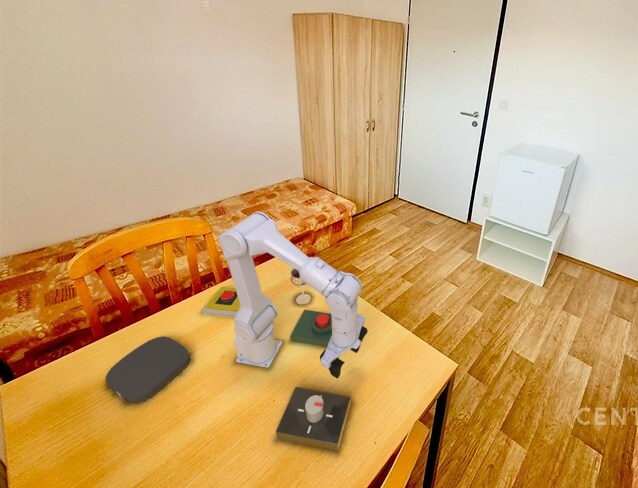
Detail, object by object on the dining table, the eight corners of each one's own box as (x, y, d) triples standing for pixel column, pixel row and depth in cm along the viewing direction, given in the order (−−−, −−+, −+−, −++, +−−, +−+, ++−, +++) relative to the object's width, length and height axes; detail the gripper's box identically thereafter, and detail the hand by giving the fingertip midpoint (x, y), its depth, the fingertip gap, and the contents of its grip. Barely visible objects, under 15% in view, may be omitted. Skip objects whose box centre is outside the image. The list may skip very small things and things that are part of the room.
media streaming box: (197, 359, 86) (194, 352, 84) (136, 411, 73) (133, 403, 72) (162, 337, 91) (160, 330, 89) (101, 382, 79) (97, 374, 77)
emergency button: (216, 282, 105) (260, 287, 105) (218, 292, 107) (262, 297, 107) (198, 303, 97) (246, 308, 97) (201, 314, 99) (248, 319, 98)
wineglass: (318, 297, 108) (316, 270, 103) (302, 310, 103) (300, 281, 98) (304, 289, 111) (301, 261, 106) (288, 300, 106) (285, 272, 101)
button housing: (290, 341, 93) (289, 331, 91) (304, 314, 102) (303, 305, 100) (330, 347, 91) (330, 338, 90) (340, 320, 100) (340, 311, 99)
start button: (314, 326, 93) (314, 322, 93) (319, 317, 97) (318, 313, 96) (326, 328, 93) (326, 324, 92) (330, 319, 96) (330, 314, 95)
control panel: (277, 439, 70) (275, 431, 69) (296, 394, 79) (295, 386, 78) (337, 451, 69) (337, 443, 68) (350, 404, 78) (350, 396, 77)
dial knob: (303, 421, 71) (302, 411, 70) (310, 402, 75) (309, 392, 73) (320, 424, 71) (319, 414, 69) (326, 405, 74) (325, 395, 73)
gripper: (338, 356, 64) (339, 397, 70) (376, 309, 76) (374, 347, 82) (312, 340, 67) (315, 381, 73) (352, 297, 79) (352, 335, 85)
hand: (345, 362), depth 78 cm, fingers open, 7 cm apart
